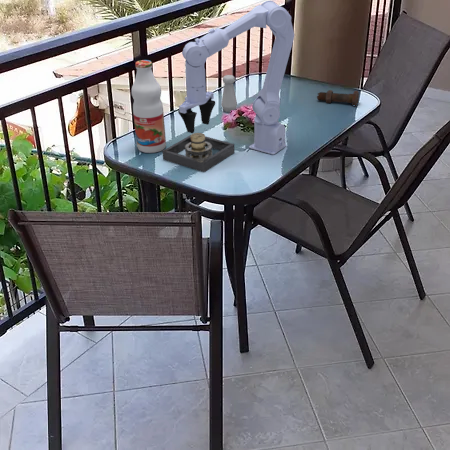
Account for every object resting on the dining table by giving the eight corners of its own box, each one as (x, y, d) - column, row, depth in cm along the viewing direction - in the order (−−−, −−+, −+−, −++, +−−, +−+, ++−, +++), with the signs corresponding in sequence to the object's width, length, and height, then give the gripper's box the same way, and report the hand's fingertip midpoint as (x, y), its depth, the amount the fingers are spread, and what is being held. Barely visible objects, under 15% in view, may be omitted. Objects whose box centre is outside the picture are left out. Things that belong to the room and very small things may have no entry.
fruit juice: (171, 143, 194) (164, 59, 179) (158, 155, 187) (150, 68, 172) (145, 139, 197) (137, 56, 182) (132, 151, 190) (121, 65, 175)
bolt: (318, 104, 226) (357, 108, 221) (315, 102, 221) (355, 105, 216) (320, 89, 226) (359, 92, 220) (317, 86, 221) (357, 89, 216)
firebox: (234, 152, 187) (234, 142, 185) (204, 172, 176) (203, 162, 174) (194, 141, 195) (193, 132, 193) (163, 159, 184) (162, 149, 182)
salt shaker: (235, 113, 215) (235, 78, 208) (220, 112, 216) (219, 78, 209) (238, 107, 220) (238, 73, 213) (223, 107, 221) (222, 73, 214)
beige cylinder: (208, 155, 186) (208, 134, 182) (200, 160, 183) (199, 139, 179) (197, 151, 188) (196, 131, 185) (188, 157, 185) (187, 136, 181)
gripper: (199, 75, 181) (201, 117, 188) (169, 89, 171) (173, 133, 178) (218, 79, 177) (219, 122, 184) (189, 94, 167) (191, 138, 174)
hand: (198, 127), depth 181 cm, fingers open, 7 cm apart
